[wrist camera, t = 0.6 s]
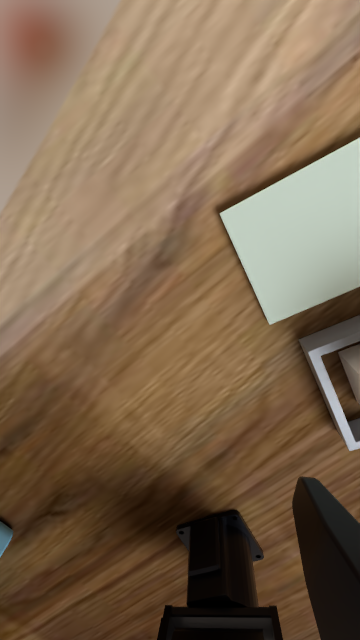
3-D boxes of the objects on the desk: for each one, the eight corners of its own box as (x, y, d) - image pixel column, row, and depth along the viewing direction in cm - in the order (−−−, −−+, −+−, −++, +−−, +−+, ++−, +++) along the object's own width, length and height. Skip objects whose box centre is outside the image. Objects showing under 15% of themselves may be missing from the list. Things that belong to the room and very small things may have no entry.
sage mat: (476, 232, 17) (485, 233, 17) (268, 321, 20) (269, 324, 19) (447, 90, 15) (456, 85, 14) (219, 213, 18) (219, 213, 17)
